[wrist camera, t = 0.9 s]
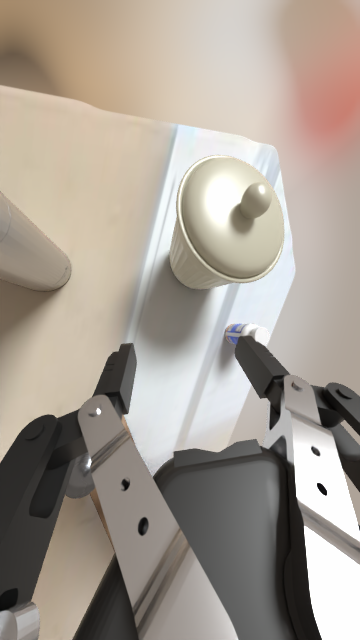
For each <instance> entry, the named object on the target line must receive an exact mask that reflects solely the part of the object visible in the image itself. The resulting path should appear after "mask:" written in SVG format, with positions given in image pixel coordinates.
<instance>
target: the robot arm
mask: <svg viewBox="0 0 360 640" xmlns="http://www.w3.org/2000/svg"><path fill="white" fill-rule="evenodd" d="M70 275H71V264H70V261H69V259H68V257H67V256H66V255H65V254H64V253H63V251H61V250H60V249H59V248H58V247H57V246H56V245H55V244H54V243H53V242H52V241H51V240H50V239H49V238H48V237H47V236H46V235H45V234H44V233H43V232H42V231H41V230H40V229H39V228H38V227H37V226H36V225H35V224H34V223H33V222H32V221H31V220H30V219H29V218H28V217H26V216H25V215H24V214H23V213H22V212H21V211H20V210H19V209H18V208H17V207H16V206H15V205H14V204H13V203H12V202H11V201H10V200H9V199H8V198H7V197H6V196H5V195H4V194H3V193H2V192H1V191H0V279H2V280H5V281H8V282H11V283H14V284H17V285H20V286H23V287H26V288H29V289H33V290H36V291H51V290H55V289H57V288H59V287H61V286H63V285H64V284H65V283H66V282H67V281H68V279H69V277H70ZM235 357H236V359H237V360H238V362H239V364H240V366H241V367H242V369H243V371H244V372H245V374H246V376H247V377H248V379H249V381H250V382H251V384H252V386H253V387H254V389H255V391H256V392H257V394H258V395H259V397H260V399H261V398H268V400H269V402H268V408H267V426H266V435H265V438H264V441H263V445H262V446H259V444H258V442H257V440H256V439H253V440H246V441H240V442H236V443H234V444H233V445H231V446H229V447H227V448H226V449H224V450H222V451H221V452H211V451H206V450H200V449H188V450H182V451H175V452H174V457H173V458H172V459H170V460H168V461H167V462H166V463H164V464H163V465H162V466H161V467H160V468H159V469H158V471H157V472H156V473H155V475H154V476H153V478H152V476H151V474H150V472H149V470H148V468H147V467H146V465H145V463H144V461H143V459H142V457H141V456H140V454H139V452H138V450H137V448H136V446H135V445H134V443H133V441H132V439H131V437H130V436H129V434H128V432H127V431H126V429H125V427H124V425H123V424H122V422H121V420H122V416H123V415H124V414H128V413H129V407H130V401H131V395H132V389H133V383H134V378H135V372H136V365H137V360H136V354H135V350H134V345H133V343H128V344H121V346H120V349H119V352H113V353H112V354H111V355H110V356H109V358H108V360H107V362H106V364H105V367H104V369H103V372H102V374H101V377H100V379H99V382H98V384H97V387H96V389H95V392H94V394H93V396H92V398H90V399H88V400H87V401H86V402H85V403H84V404H83V405H82V407H81V408H80V409H78V410H76V411H74V412H71V413H69V414H66V415H64V416H62V417H59V418H56V417H55V416H54V415H44V416H41V417H39V418H37V419H35V420H33V421H32V422H30V423H29V424H28V425H27V426H26V427H25V428H24V429H23V430H22V431H21V432H20V433H19V435H18V436H17V438H16V439H15V441H14V442H13V444H12V446H11V447H10V449H9V450H8V452H7V453H6V455H5V457H4V458H3V460H2V461H1V463H0V640H38V637H39V629H40V615H39V610H38V607H37V606H36V604H34V603H33V602H31V599H32V596H33V593H34V590H35V587H36V583H37V580H38V577H39V574H40V571H41V568H42V565H43V561H44V558H45V555H46V552H47V549H48V546H49V543H50V540H51V536H52V533H53V530H54V527H55V524H56V521H57V518H58V514H59V511H60V508H61V505H62V502H63V499H64V496H65V492H66V489H67V486H68V483H69V480H70V477H71V474H72V471H73V467H74V464H75V461H76V458H77V457H79V456H81V455H83V454H85V453H87V452H89V455H90V459H91V464H90V469H91V474H92V477H93V480H94V484H95V487H96V490H97V494H98V497H99V500H100V503H101V507H102V510H103V513H104V516H105V520H106V523H107V526H108V530H109V533H110V536H111V539H112V543H113V546H114V549H115V554H114V556H113V558H112V560H111V562H110V564H109V566H108V568H107V570H106V572H105V574H104V576H103V578H102V580H101V582H100V584H99V586H98V588H97V590H96V593H95V595H94V597H93V599H92V601H91V603H90V605H89V607H88V609H87V611H86V613H85V615H84V617H83V619H82V621H81V623H80V625H79V627H78V629H77V631H76V633H75V635H74V637H73V639H72V640H360V526H359V525H358V524H357V522H356V518H355V514H354V511H353V507H352V503H351V500H350V496H349V492H348V489H347V485H346V481H345V478H344V474H343V471H342V469H343V470H344V471H345V473H346V474H347V475H348V477H349V478H350V480H351V481H352V482H353V484H354V485H355V486H356V488H357V489H358V491H359V492H360V445H359V444H358V443H357V442H356V441H355V440H354V439H353V438H352V436H351V435H350V434H349V433H348V432H347V431H346V429H344V427H343V426H342V425H341V424H340V423H341V422H342V421H343V420H346V421H347V423H348V424H349V425H350V426H351V427H352V428H353V429H354V430H355V431H356V432H357V433H358V434H359V435H360V397H359V396H358V395H357V394H356V393H355V392H354V391H352V390H351V389H349V388H348V387H346V386H344V385H341V384H338V383H329V384H328V385H327V386H326V387H325V388H324V387H318V386H313V385H309V383H307V382H306V381H305V380H303V379H302V378H300V377H298V376H294V375H290V374H289V372H288V371H287V370H286V369H285V368H284V367H283V366H282V365H281V364H280V363H279V361H278V360H277V359H276V358H275V357H273V355H272V354H271V353H270V352H269V350H268V349H267V348H266V347H265V346H264V345H262V344H261V343H259V342H258V341H257V342H256V341H255V339H254V338H253V337H252V336H250V335H247V336H240V337H239V338H238V342H237V345H236V348H235Z"/></svg>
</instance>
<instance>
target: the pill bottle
mask: <svg viewBox="0 0 360 640" xmlns="http://www.w3.org/2000/svg"><path fill="white" fill-rule="evenodd" d="M247 335H250V336H252V337H253V338H254V339H255V341H256V342H257V341H258V342H259V343H261V344H262V345H264V346H265V345H266V344H267V343H268V342H269V339H270V335H269V332H268V330H267V329H266V328H264V327H258V326H257V325H255V324H231V325H229V326H228V327H227V329H226V331H225V337H226V339H227V341H228V342H230V343H232V344H236V345H237V342H238V338H239V337H240V336H247Z"/></svg>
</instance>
